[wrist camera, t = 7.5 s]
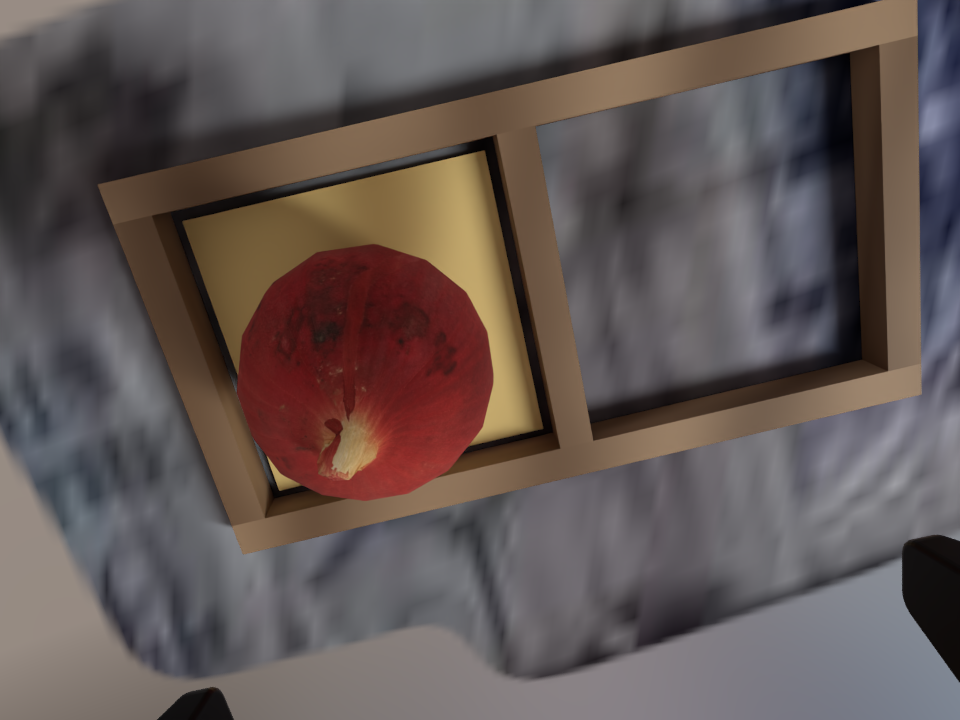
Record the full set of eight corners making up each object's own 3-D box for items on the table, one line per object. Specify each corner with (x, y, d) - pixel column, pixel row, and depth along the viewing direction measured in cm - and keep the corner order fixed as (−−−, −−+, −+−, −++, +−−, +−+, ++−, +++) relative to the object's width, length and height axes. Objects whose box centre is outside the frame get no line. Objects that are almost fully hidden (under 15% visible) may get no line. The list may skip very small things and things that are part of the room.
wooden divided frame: (884, 3, 17) (917, -8, 16) (894, 381, 20) (921, 394, 19) (120, 183, 17) (97, 184, 16) (253, 532, 20) (243, 554, 19)
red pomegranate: (257, 249, 18) (120, 313, 10) (463, 214, 18) (486, 251, 10) (307, 439, 19) (224, 619, 12) (494, 407, 19) (534, 563, 12)
